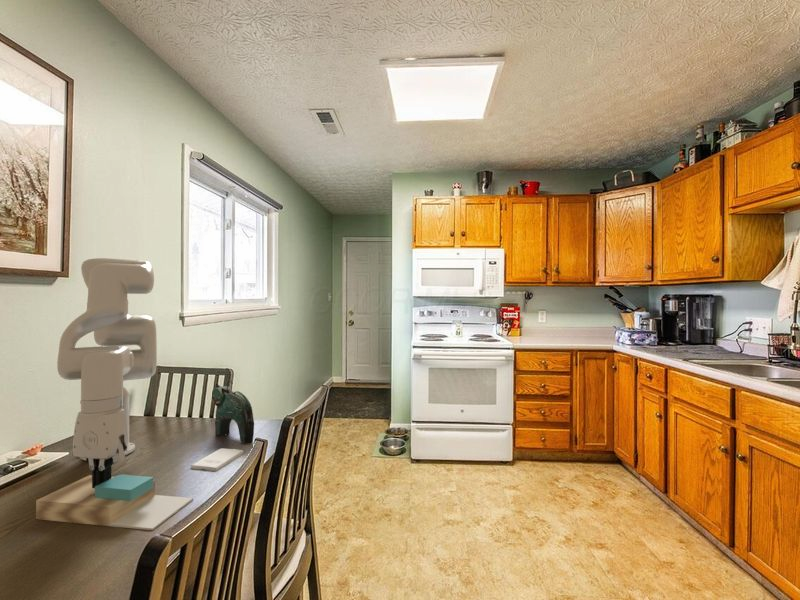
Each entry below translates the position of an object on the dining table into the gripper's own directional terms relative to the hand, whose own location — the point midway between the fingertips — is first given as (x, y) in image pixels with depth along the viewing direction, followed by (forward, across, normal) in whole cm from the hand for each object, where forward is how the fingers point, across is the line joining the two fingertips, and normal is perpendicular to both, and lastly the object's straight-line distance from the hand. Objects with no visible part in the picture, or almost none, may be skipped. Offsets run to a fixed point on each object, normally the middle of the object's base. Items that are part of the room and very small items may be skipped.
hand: (101, 485), depth 85 cm
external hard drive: (+6, +10, +27) cm, 30 cm away
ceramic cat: (+5, +4, +45) cm, 46 cm away
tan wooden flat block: (+5, -1, 0) cm, 5 cm away
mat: (+5, +13, 0) cm, 14 cm away
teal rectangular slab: (+1, +6, 0) cm, 6 cm away
